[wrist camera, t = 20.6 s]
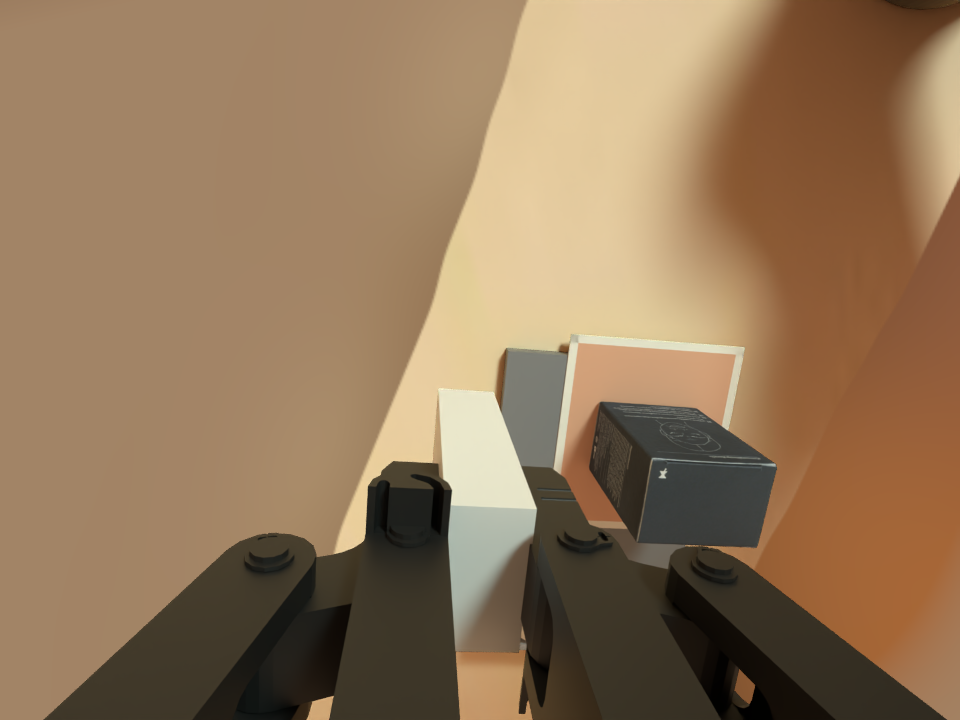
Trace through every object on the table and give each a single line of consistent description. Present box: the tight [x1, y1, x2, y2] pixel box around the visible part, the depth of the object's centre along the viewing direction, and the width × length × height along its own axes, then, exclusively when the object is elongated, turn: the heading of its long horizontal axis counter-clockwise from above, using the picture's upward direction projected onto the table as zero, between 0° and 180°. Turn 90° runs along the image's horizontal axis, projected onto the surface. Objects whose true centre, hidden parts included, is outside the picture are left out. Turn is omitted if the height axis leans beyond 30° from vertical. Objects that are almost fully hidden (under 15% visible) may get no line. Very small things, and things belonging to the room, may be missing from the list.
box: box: [589, 402, 777, 548], centre depth 39 cm, size 8×6×11 cm
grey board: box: [500, 334, 745, 650], centre depth 44 cm, size 18×26×4 cm
